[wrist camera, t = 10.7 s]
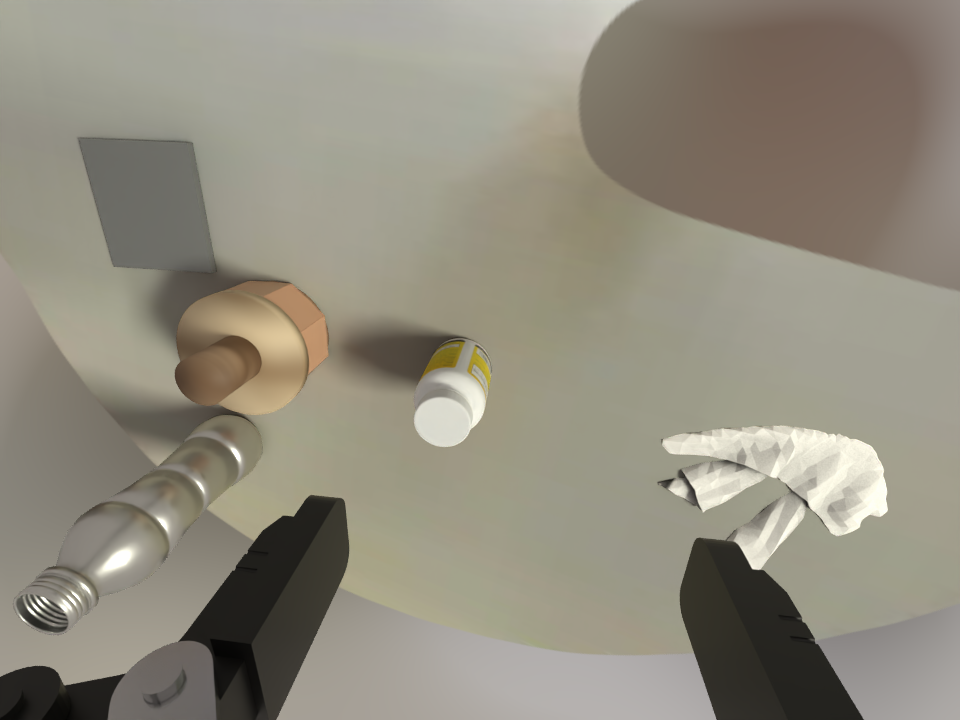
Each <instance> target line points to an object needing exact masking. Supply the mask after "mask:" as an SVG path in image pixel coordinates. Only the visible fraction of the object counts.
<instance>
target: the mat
mask: <svg viewBox="0 0 960 720" xmlns="http://www.w3.org/2000/svg"><path fill="white" fill-rule="evenodd" d="M78 139H79V142H80V146H81V150H82V153H83V157H84V161H85V164H86V168H87V172H88V175H89V179H90V182H91V186H92V190H93V193H94V197H95V201H96V204H97V208H98V211H99V215H100V219H101V222H102V226H103V230H104V233H105V237H106V241H107V244H108V248H109V251H110V255H111V259H112V262H113V266H114V267H127V268H143V269H158V270H173V271H188V272H204V273H214V272H217V271H216V266H215V261H214V255H213V250H212V245H211V239H210V234H209V229H208V223H207V218H206V213H205V208H204V202H203V197H202V192H201V186H200V181H199V176H198V170H197V165H196V160H195V154H194V149H193V144H192V143H189V142H166V141H141V140H116V139H91V138H78Z"/></svg>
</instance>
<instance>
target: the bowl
mask: <svg viewBox="0 0 960 720" xmlns="http://www.w3.org/2000/svg"><path fill="white" fill-rule="evenodd" d="M227 290H241V291H247V292H251V293H254V294H257V295H260V296H262V297H264V298H266V299H268V300H270V301H271V302H273V303H274V304H276V305H277V306H279V307H280V308H281V309H282V310H283V311H284V312H286V314H287V315H288V316H289V317H290V318H291V319H292V320H293V321H294V323H295V324H296V325H297V327H298V329H299V330H300V332H301V334H302V336H303V338H304V340H305V343H306V346H307V350H308V355H309V372H308V375H309V374H310V373H311V372H312V371H313V370H314V369H315V368H316V367H317V366H318V365H319V364H320V363H321V362H322V361H324V360H325V359H326V358H327V357H328V342H329V335H328V328H327V325H326V322H325V316H324V315H323V314H322V313H321V311H320V310H319V308H318V307H317V306H316V304H315V303H314V302H313V301H312V300H311V299H310V298H309V297H308V296H307V295H306V294H305V293H303V292H302V291H300V290H299V289H297V288H296V287H295V286H294V285H293V284H291V283H282V282H276V281H263V282H262V281H247V282H245V283H242V284H240V285H237V286H234V287H232V288H229V289H227ZM224 291H226V290H224Z"/></svg>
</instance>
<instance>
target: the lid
mask: <svg viewBox="0 0 960 720" xmlns="http://www.w3.org/2000/svg"><path fill="white" fill-rule="evenodd" d="M176 339H177V349H178V354H179V357H180V361H181V362H180V363H179V364H178V365H177V367H176V370H175V380H176V383H177V385H178V387H179V389H180V390H181V392H182V393H183V394H184V395H185V396H186V397H187V398H188V399H190V400H191V401H193V402H195V403H197V404H200V405H205V406H210V405H215V404H219V405H221V406H223V407H225V408H227V409H229V410H232V411H235V412H238V413H242V414H249V415H260V414H267V413H271V412H274V411H276V410H279V409H280V408H282V407H284V406H285V405H286V404H287V403H289V402H290V401H291V400H292V399H293V398H294V397H295V396H296V395H297V394H298V393H299V392H300V391H301V389H302V387H303V386H304V384H305V382H306V379H307V376H308V372H309V355H308V350H307V346H306V343H305V340H304V338H303V336H302V334H301V332H300V330H299V329H298V327H297V325H296V324H295V323H294V321H293V320H292V319H291V318H290V317H289V316H288V315H287V314H286V312H284V311H283V310H282V309H281V308H280V307H279V306H277V305H276V304H274V303H273V302H271V301H270V300H268V299H266V298H264V297H262V296H260V295H257V294H254V293H251V292H247V291H241V290H226V291H220V292H217V293H214V294H211V295H209V296H206V297H204V298H201V299H199V300H197V301H196V302H195V303H193V304H192V305H191V306H190V307H189V308H188V309H187V310H186V311H185V312H184V314H183V315H182V317H181V320H180V322H179V325H178V329H177V337H176Z"/></svg>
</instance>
